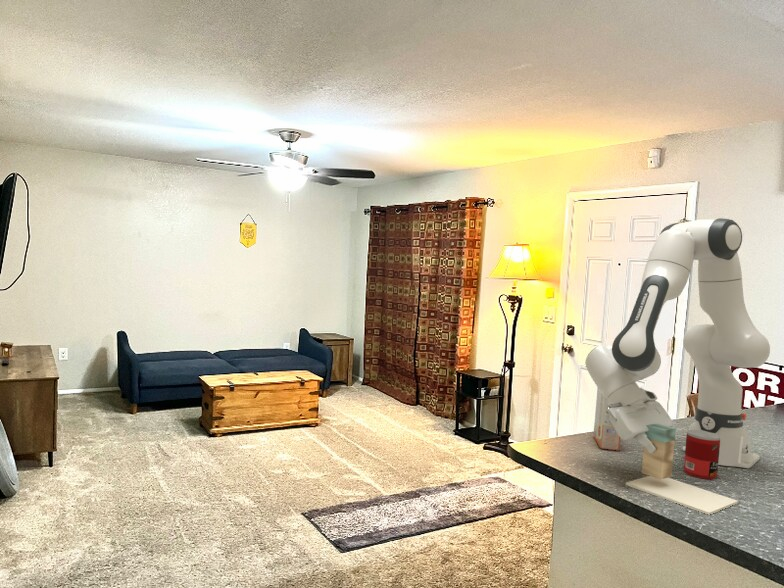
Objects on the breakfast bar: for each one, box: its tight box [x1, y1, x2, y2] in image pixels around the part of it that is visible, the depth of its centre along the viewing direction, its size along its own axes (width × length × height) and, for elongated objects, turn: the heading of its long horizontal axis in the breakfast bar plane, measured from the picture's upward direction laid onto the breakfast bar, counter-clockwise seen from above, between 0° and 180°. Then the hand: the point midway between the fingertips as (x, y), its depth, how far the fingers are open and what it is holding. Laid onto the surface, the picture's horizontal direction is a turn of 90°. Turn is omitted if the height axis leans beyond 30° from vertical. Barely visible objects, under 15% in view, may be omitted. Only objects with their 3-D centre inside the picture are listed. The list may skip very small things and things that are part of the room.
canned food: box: [683, 430, 720, 480], centre depth 155 cm, size 8×8×11 cm
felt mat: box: [625, 475, 739, 516], centre depth 139 cm, size 14×20×1 cm
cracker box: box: [592, 387, 621, 452], centre depth 179 cm, size 14×6×21 cm, turn 168°
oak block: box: [641, 423, 677, 479], centre depth 144 cm, size 5×5×12 cm
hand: (661, 449), depth 143 cm, fingers closed on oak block, 5 cm apart
